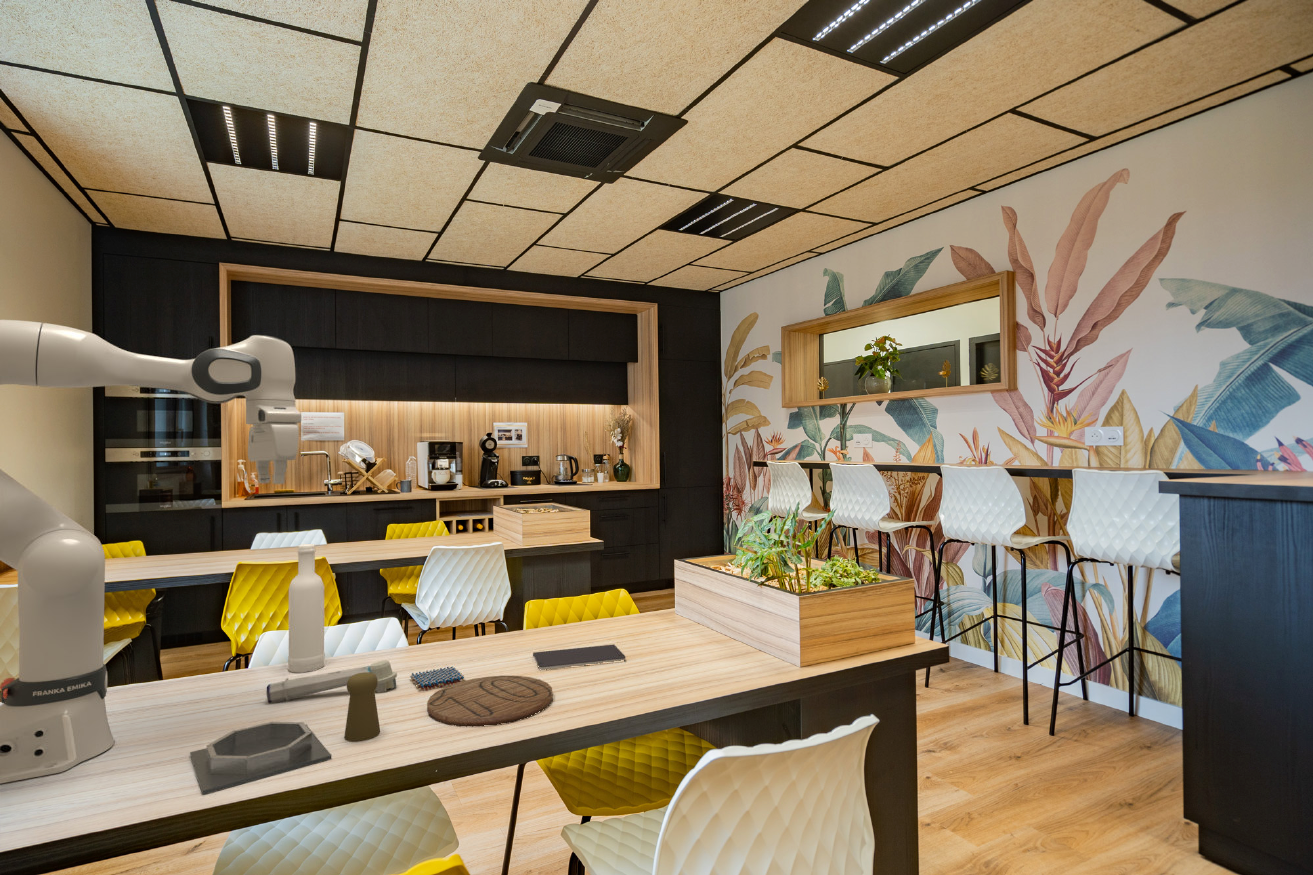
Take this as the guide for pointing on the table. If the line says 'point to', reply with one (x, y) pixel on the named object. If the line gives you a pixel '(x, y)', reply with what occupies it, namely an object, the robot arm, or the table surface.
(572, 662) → the notebook
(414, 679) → the woven mat
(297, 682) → the toothbrush head
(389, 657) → the table surface
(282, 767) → the duct collar
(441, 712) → the trivet
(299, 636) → the bottle
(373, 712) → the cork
